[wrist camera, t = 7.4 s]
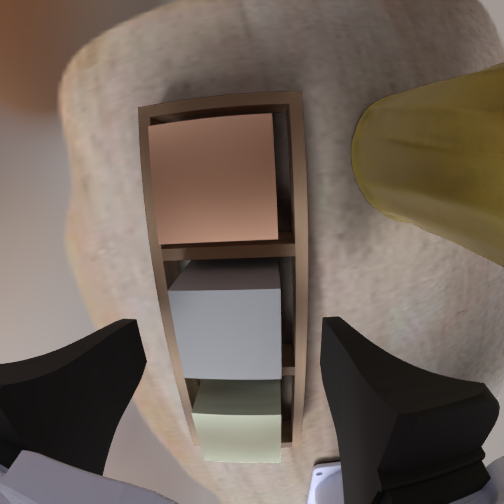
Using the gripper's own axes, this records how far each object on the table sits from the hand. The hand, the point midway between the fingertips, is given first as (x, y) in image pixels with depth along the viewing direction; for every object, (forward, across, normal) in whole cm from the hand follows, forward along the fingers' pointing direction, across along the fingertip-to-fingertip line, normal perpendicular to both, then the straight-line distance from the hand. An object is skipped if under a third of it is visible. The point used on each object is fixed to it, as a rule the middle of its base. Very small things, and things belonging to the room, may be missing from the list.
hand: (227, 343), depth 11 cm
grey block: (+4, 0, 0) cm, 4 cm away
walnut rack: (+4, 0, 0) cm, 4 cm away
